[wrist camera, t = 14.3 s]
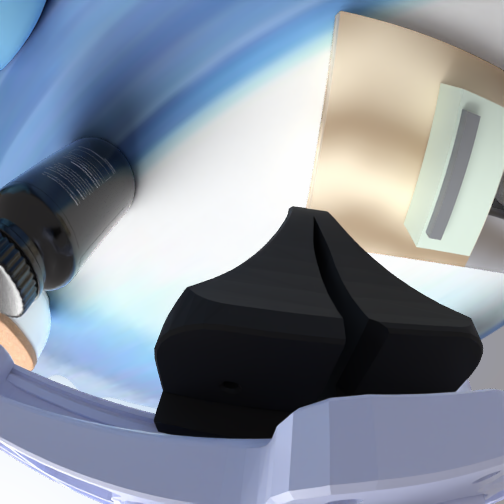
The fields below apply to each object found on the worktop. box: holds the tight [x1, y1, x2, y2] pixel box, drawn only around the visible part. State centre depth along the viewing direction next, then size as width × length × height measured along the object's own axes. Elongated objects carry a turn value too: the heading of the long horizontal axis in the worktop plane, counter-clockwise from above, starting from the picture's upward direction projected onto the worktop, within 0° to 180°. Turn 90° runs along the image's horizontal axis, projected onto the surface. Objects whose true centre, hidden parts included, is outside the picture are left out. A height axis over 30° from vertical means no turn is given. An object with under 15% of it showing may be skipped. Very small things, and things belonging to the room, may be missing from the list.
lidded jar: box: [0, 291, 51, 371], centre depth 26 cm, size 11×11×9 cm
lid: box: [404, 83, 504, 256], centre depth 14 cm, size 9×4×3 cm, turn 175°
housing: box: [306, 11, 504, 273], centre depth 16 cm, size 14×19×2 cm
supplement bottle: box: [0, 137, 135, 318], centre depth 16 cm, size 7×7×12 cm
